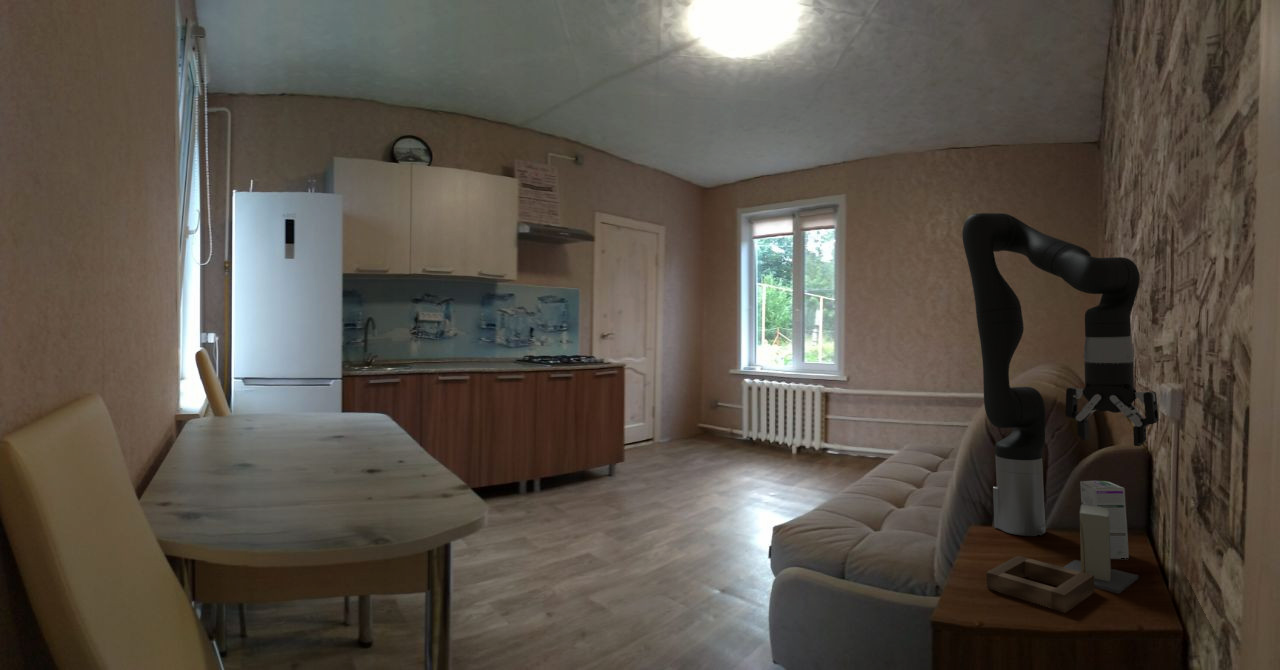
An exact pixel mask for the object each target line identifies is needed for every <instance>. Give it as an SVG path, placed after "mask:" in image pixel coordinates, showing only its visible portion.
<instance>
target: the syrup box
mask: <svg viewBox="0 0 1280 670" xmlns="http://www.w3.org/2000/svg"><path fill="white" fill-rule="evenodd" d="M1079 485H1080V501H1081V503H1080V506H1081V505H1082V504H1083V505H1090V506H1098V507H1105V508H1109V520H1110V559H1111V560H1122V559H1121V558H1125V559H1124V560H1127V559H1126V558H1129V559H1130V557H1129V555H1130V554H1129V540H1128V539H1129V537H1128V520H1127V507H1126V506H1127V505H1126V504H1127V503H1126V488H1125V487H1123V486H1120V485H1119V484H1115V483H1113V482H1111V481H1109V480H1083V481H1082V480H1080V482H1079Z"/></svg>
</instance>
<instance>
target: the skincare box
mask: <svg viewBox="0 0 1280 670" xmlns="http://www.w3.org/2000/svg"><path fill="white" fill-rule="evenodd" d="M1079 533H1080V537H1079V538H1080V539H1079V540H1080V541H1079V542H1080V561H1081V572H1083V573H1087V574H1091V575H1094V579H1098V580H1103V581H1108V582H1110V578H1111V569H1112V567H1111V566H1112V564H1111V562H1112V559H1110V520H1109V508H1105V507H1098V506H1090V505H1083V504H1082V505H1081V504H1080V508H1079Z"/></svg>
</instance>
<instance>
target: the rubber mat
mask: <svg viewBox="0 0 1280 670" xmlns="http://www.w3.org/2000/svg"><path fill="white" fill-rule="evenodd" d="M1063 567H1064V568H1068V569H1071V570H1075V571H1079V572H1081V560H1078V559H1074V560H1073V561H1070V562H1069V563H1067V564H1066V565H1064V566H1063ZM1138 580H1139V575H1138V574H1135V573H1129V572H1127V571H1122V570H1119V569H1114V568H1111V578H1110V582H1108V581H1103V580H1098V579H1094V588H1097V589H1099V590H1102V591H1103V590H1104V591H1106V592H1111V593H1114V594H1118V595H1119V594H1121V593H1122V592H1123V591H1124V590H1126V589H1127V588H1128V587H1129V586H1131V585H1132V584H1133V583H1135V582H1136V581H1138Z"/></svg>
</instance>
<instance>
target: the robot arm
mask: <svg viewBox="0 0 1280 670" xmlns="http://www.w3.org/2000/svg"><path fill="white" fill-rule="evenodd" d="M961 232H962V233H961V235H962V243H963V249H964V253H965V256H966V260H967V265H968V268H969V273H970V277H971V284H972V290H973V295H974V302H975V313H976V314H975V315H976V321H977V329H978V336H979V341H980V349H981V359H982V373H983V376H982V377H983V380H982V381H983V382H982V383H983V405H984V411H985V415H986V417H987V420H988V421H989V423H990V424H991V425H992V426H993V427H995V428H998V429H999V428H1000V429H1006V428H1007V429H1008V428H1012V431H1011V432H1010V434H1008V435H1007V436H1006V437H1005V438H1002V439H1001V440H1000V439H999V441H997V442H996V443H995V446H994V453H995V458H994V459H995V474H996V476H995V477H996V486H993V488H992V497H993V498H992V499H993V521H994V522H993V523H994V528H995V529H998V530H1001V531H1002V532H1005V533H1008V534H1011V535H1015V536H1016V535H1017V536H1024V537H1038V536H1037V535H1040V536H1043V535H1042V534H1044V533H1045V534H1046V512H1045V491H1044V490H1045V488H1044V469H1043V468H1044V467H1043V450H1044V448H1045V444H1046V420H1047V419H1046V405H1045V401H1044V398H1043V396H1042V394H1041V393H1040V392H1039V391H1038V390H1037V389H1036V388H1035V387H1030V386H1012V387H1011V385H1010V377H1009V375H1010V364H1011V362H1012V359H1013V357H1014V354H1015V353H1016V350H1017V348H1018V346H1019V345H1020V342H1021V340H1022V337H1023V334H1024V330H1025V329H1024V326H1025V325H1024V320H1023V319H1024V318H1023V312H1022V305H1021V301H1020V300H1019V298H1018V297H1019V296H1018V295H1017V294H1016V292H1015V291H1014V289H1013V288H1012V287H1011V286H1010V284H1009V283H1008V282H1007V281H1006V280H1005V278H1004V277H1003V275H1002V274H1001V272H1000V271H999V267H998V265H997V262H996V258H995V252H1003V251H1004V252H1005V251H1006V252H1012V253H1016V254H1021V255H1022V256H1024V257H1026V258H1027V259H1028V261H1029V262H1030V263H1031V264H1032V265H1033V266H1035V267H1036V268H1038V269H1039V270H1042V271H1044V272H1047V273H1048V274H1051V275H1053V276H1055V277H1059V278H1061V279H1062V280H1063V281H1064V282H1065V283H1067V284H1068V285H1069V286H1070V287H1072V288H1073V289H1075V290H1077V291H1079V292H1082V293H1085V294H1090V295H1101V297H1100V301H1099V304H1098V305H1096V306H1093V307H1090V308H1088V309H1087V310H1086V311H1085V313H1084V337H1085V338H1084V346H1083V351H1084V352H1083V360H1084V363H1083V364H1084V385H1085V386H1084V388H1078V387H1076V386H1073V387H1068V388H1067V389H1066V391H1065V392H1066V393H1065V410H1064V411H1065V416H1066V417H1068V418H1072V419H1074V420H1075V421H1076V426H1077V427H1076V428H1077V431H1076V433H1077V436H1078V437H1080V439H1081V441H1087V440H1089V439H1090V420H1088V419H1089V417H1091V415H1092V414H1093V413H1094V412H1096V411H1098V412H1103V413H1104V412H1110V413H1115V414H1116V413H1117V414H1118V413H1122V414H1123V415H1124V416H1125V417H1126V418H1128V419H1129V420H1130V422H1132V424H1133V425H1134V426H1132V428H1133V429H1132V430H1133V445H1134V446H1135V447H1141V446H1142V445H1143V444H1145V443H1146V442H1147V426H1150V425H1153V424H1154V425H1155V424H1156V423H1159V422H1160V419H1159V410H1158V409H1159V408H1158V398H1157V392H1155V391H1154V390H1150V391H1146V392H1145V391H1136V389H1135V376H1134V375H1135V374H1134V372H1135V371H1134V370H1135V369H1134V365H1135V364H1134V346H1133V343H1132V332H1131V331H1132V329H1131V328H1132V327H1131V326H1132V325H1131V315H1132V310H1133V308H1134V304H1135V300H1136V298H1137V293H1138V289H1139V286H1140V280H1141V277H1140V271H1139V268H1138V266H1137V265H1136V264H1135V262H1134V261H1132V259H1129V258H1127V257H1122V256H1121V257H1120V256H1118V257H1117V256H1115V257H1113V256H1112V257H1096V256H1095V257H1094V256H1092V255H1091V253H1090V251H1089V250H1087V249H1086V248H1084V247H1083V246H1080V245H1077V244H1074V243H1071V242H1068V241H1065V240H1062V239H1060V238H1056V237H1053V236H1051V235H1049V234H1046V233H1043V232H1041V231H1039V230H1037V229H1035V228H1034V227H1032V226H1029V225H1028V224H1026V223H1025V222H1023V221H1021V220H1020V219H1018V218H1017V217H1014V216H1013V215H1011V214H1008V213H1002V212H1001V213H1000V212H998V213H997V212H994V213H993V212H992V213H991V212H979V213H978V212H977V213H973V214H971V215H969V216H968V217H967V218H966V219H965V221H964V223H963V227H962V231H961ZM1082 396H1083V397H1084V398H1085V399H1086V400H1087V401H1088V402H1087V403H1086V404H1085V405H1084V407H1082V409H1081V411H1078V407H1079V406H1078V405H1079V399H1081V398H1082ZM1136 399H1138V400H1139V401H1140V403H1141V404H1144V415H1145V417H1144V416H1143V415H1142V414H1141V413H1140V411H1139V410H1138V409H1137V408H1136V406H1135V405H1134V404H1133V403H1134V402H1135V400H1136ZM1045 534H1044V535H1045Z"/></svg>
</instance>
